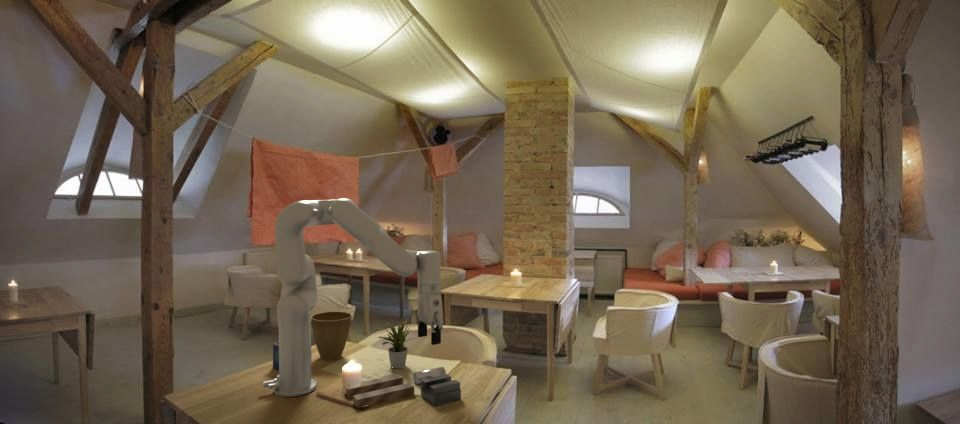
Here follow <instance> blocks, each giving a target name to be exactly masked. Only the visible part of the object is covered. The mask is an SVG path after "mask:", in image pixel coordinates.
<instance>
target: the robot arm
mask: <svg viewBox="0 0 960 424" xmlns="http://www.w3.org/2000/svg"><path fill="white" fill-rule="evenodd" d="M330 225H336V226H338V227H339V228H341V229H342V230H343V231H344V232H346V233H347V234H348V235H349V236H351V237H352V238H354V240H356V241H357V242H358V243H359V244H361V245H362V246H363V247H364V248H365V249H366V250H367V251H369V253H371V254H372V256H374V257H375V258H376V259H377V260H379V261H380V262H381V263H382V264H383V265H385V266H386V267H387V268H389V269H390V270H391V271H393V272H394V273H395V274H397V276H400V277H409V276H411V275H413V274H414V273H415V272H417V294H418V297H417V309H416V311H415V313H416V319H417V337H418V338H424V337H427V336H428V326H430V328H431V333H430V334H431V335H430V337H431V338H430V344H431V345H432V346H434V345H440V344H441V343H442V331H443V327H444V326H443V324H444V311H443V301H442V299H443V298H442V295H441V291H442V290H441V289H442V288H441V287H442V286H441V285H442V284H441V283H442V282H441V281H442V277H441V274H442V273H441V271H442V268H441V262H442V261H441V253H440V252H439V251H438V250H421V251H420V250H410V249H405V248H403V246H401V245H400V244H399V243H397V242H396V241H395V240H394V239H393V238H392V237H391V236H390V235H389V234H388V232H387V231H386V230H385V228H384V227H383V226H382V225H381V224H380V223H379V222H378V221H377V220H375V219H374V218H372V217H371V216H370V215H368V214H367V213H366V212H364V210H362V209H361V208H360V207H359V206H358V204H357V203H356V201H354V200H352V199H350V198H345V197H343V198H337V199H317V200H316V199H314V200H312V199H311V200H310V199H307V200H306V199H305V200H297V201H295V202H292V203H290V204H289V205H287V206H285V208H283V209H282V210H281V211H280V212H279V214H278V215H277V217H276V219H275V222H274V239H275V240H274V241H275V259H276V271H277V277H278V280H279V281H280V282H281V284H283V285H285V286H286V292H285V293H284V294H283V295H282V296H281V297H280V298H279V301H278V302H277V306H276V316H277V324H278V342H279V371H278V374H277V375H276V377H275V378H274V377H273V379H271V380H265V381H262V389H265V388H267V389H268V390H271V389H273V393H274V394H275V395H276V396H279V397H284V398H285V397H286V398H287V397H288V398H289V397H290V398H291V397H299V396H302V395H306V394H309V393H311V392H312V391H314V390H315V389H316V388H317V386H318V384H317V381H316V380H315V379H313V378H312V323H311V311H312V310H313V308H314V307H315V306H316V304H317V301H318V290H317V280H316V279H317V278H316V268H315V267H316V266H315V263H314V261H313V259H312V258H311V257H310V256H309V255H308V254H306V244H305V238H304V229H306V228H308V227H314V226H330Z"/></svg>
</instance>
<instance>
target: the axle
mask: <svg viewBox="0 0 960 424" xmlns="http://www.w3.org/2000/svg"><path fill="white" fill-rule="evenodd" d="M446 372H447V371H446V369H445V367H444V366H440V367H434V368H428V369H425V370H419V371H415V372H413V382H414V384H415V385H416V384H417V386H418V384H419V385H422V380H423V379H428V378H432V377H436V376H441V375H445V374H447V373H446Z"/></svg>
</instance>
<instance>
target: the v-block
mask: <svg viewBox="0 0 960 424" xmlns="http://www.w3.org/2000/svg"><path fill="white" fill-rule="evenodd" d="M420 396H421V397H422V398H423V399H424V400H426V401H427V402H428V403H429V404H431V405H432V406H434V407H437V406H441V405H445V404H448V403H452V402H453V403H454V402H456V401H459V400H461V399H462V389H461V382H460V381H459V380H457V379H453V380H452V376H451V375H449V374H448V373H446V374H445V375H441V376H436V377H432V378H428V379H423V380H422V384H421V385H420Z"/></svg>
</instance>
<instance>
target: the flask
mask: <svg viewBox="0 0 960 424" xmlns="http://www.w3.org/2000/svg"><path fill="white" fill-rule="evenodd" d="M272 370H274V371H278V372H279V341H277V342H274V343H273V344H272Z"/></svg>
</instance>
